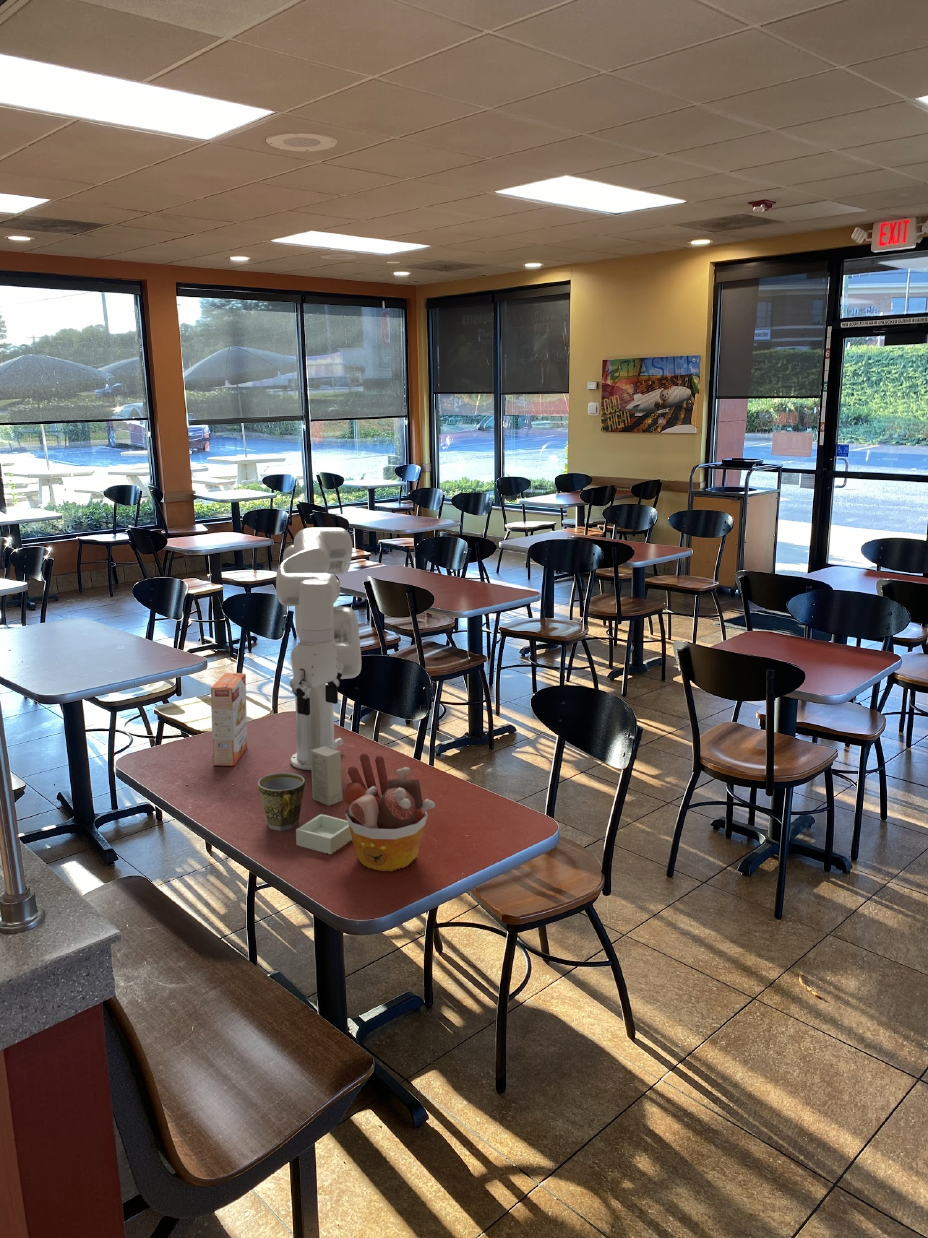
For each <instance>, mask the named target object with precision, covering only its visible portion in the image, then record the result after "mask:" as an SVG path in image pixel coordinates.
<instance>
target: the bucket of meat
mask: <svg viewBox="0 0 928 1238" xmlns="http://www.w3.org/2000/svg"><path fill="white" fill-rule="evenodd" d="M359 761H360V766H361V769H362V771H363V772H362V773H363V776H364V780H365V781H363V778H362V777H361V774H360V772H359V770H358V768H357V767H356V766H353V765H351V766H349V767H348V769H347V775H348V776H349V778H350V780H351V782H349V783H347V784H346V786H345V788H344V790H343V793H344V798H345V802H346V804H347V805H348V806H349V808H348V809H347V810H346V811H345V812H344V814H345V817H346V820H347V821H348V824H349V828H350V832H351V836H352V840H351V841H352V845H353V848H354V852H355V856H356V857H357V859H358V860H359V862H360V863H361V864H362V865H363V866H364V867H365V866H367V867H366V868H368V867H370V868H373V869H375V870H374V871H376V870H395V871H397V870H396V869H399V868H402V867H404V866H407V867H408V866H409V865H410V864H411V863H412V862H413V861H414V860H415V859H416V858H417V857H418V856H419V852H420V846H421V843H422V840H423V839H422V837H423V834H424V831H425V826H426V822H427V819H428V816H429V815H428V810H433V809H434V808H435V807H436V804H435V802H434V801H432V800H430V799H429V798H426V799H424V801H423V796H422V790H421V784H420V780H419V779H408V776H409V775H410V773H411V769H410V767H407V766H405V767H402V768H399V769H396V771H395V774H396V776H398V778H395V779H394V778H392V779H388V774H387V768H386V764H385V760H384V757H383V756H382V755H378V754H377V755H376V756H375V761H374V762H375V766H376V772H377V776H378V782H379V787H380V793H381V795H380V794H379V791H378V790H379V789H378V787H377V784H376V780H375V776H374V775H375V774H374V772H373V768H372V764H371V760H370V756H369V755H368V754H367V753H366V752H363V753H361V754H360V756H359ZM364 782H365V783H364ZM370 868H369V869H370ZM373 869H372V870H373ZM402 869H403V868H402ZM399 870H400V869H399Z"/></svg>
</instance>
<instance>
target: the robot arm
mask: <svg viewBox="0 0 928 1238" xmlns="http://www.w3.org/2000/svg"><path fill="white" fill-rule="evenodd" d="M352 554H353V541H352V536H351V535H350V533H349V532H348V530H347V529H345V528H343V527H333V526H332V527H306V528H303V529H301V530H299V531H298V532H297V533H296V534H295V536H294V538H293V544H291V545H289V546H288V547H286V548H285V549H284V552H283V556H282V561H281V563H280V564H279V566H278V568H277V571H276V576H275V577H276V578H275V579H276V580H275V590H276V598H277V600H278V602H279V603H280V604H281V605H282V606H286V607H294V620H295V621H294V622H295V623H294V624H295V632H296V636H297V639H298V640H299V642H298V643H297V645H295V646H294V647H293V649H292V650H291V652H290V663H291V664H290V665H291V669H292V671H291V672H292V676H293V677H292V678H291V679H290V681H289V686H290V689H291V692H292V693H293V694H294V697H295V700H294V701H295V735H296V736H295V737H296V738H295V739H296V752H295V753H294V754H292V756H291V757H290V764H291V765H292V766H293V767H294V768H296V769H299V770H306V771H312V769H311V750H312V749H315V748H319V747H322V746H327V747H330V748H333V749H335V750H337V749H338V747H340V746H342V745H343V744H344V739H343V738H341V737H338V738H335V725H334V721H335V717H334V704H335V705H337V704H338V703H339V689H338V687H339V686H340V680H344V679H345V680H346V679H354V678H356V677H357V676H359V674H361V670H362V651H361V650H362V649H361V640H360V630H359V629H360V627H359V621H358V616H357V613H356V612H355V610H354V609H353V608H351V607H349V606H339V605H338V606H334V604H335V603H336V601H338V600H337V599H339V597H340V595H341V584H340V580H339V579H338V578H337V576H339V575H345V574H346V573H347V572H348V571H349V569H350V568H351V560H352V556H353V555H352Z"/></svg>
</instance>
